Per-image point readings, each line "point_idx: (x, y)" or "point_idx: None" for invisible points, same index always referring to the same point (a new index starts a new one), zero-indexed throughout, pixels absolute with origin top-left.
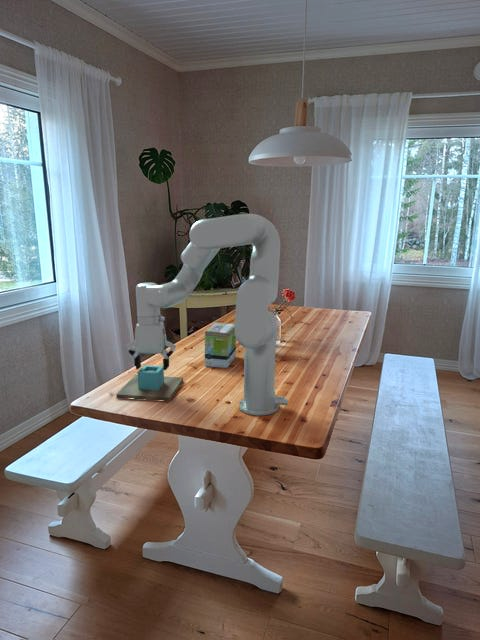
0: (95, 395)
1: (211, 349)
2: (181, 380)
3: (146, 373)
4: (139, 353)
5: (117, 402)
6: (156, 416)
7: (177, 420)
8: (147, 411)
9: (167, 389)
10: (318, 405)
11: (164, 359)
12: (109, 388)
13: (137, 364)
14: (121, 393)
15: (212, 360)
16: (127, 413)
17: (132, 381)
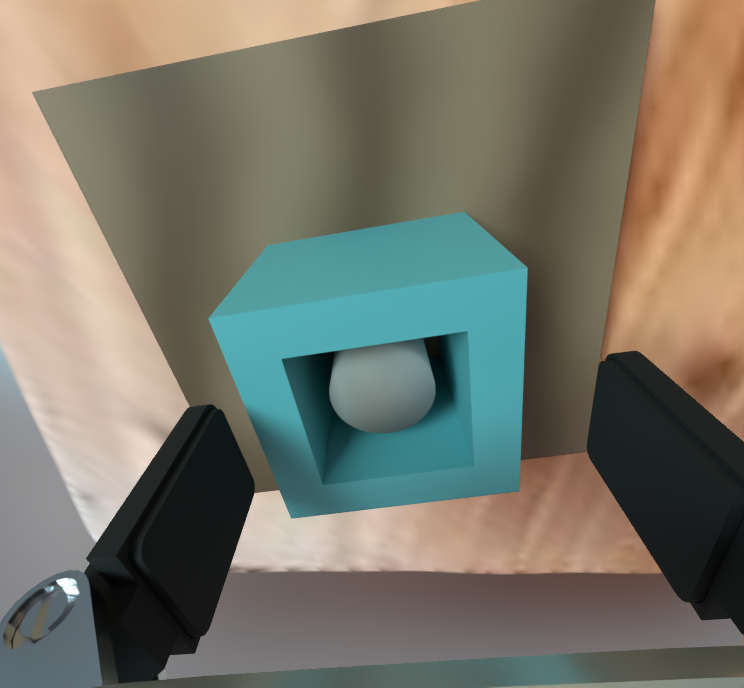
0: (97, 472)
1: None
2: (639, 64)
3: (390, 499)
4: (112, 660)
5: (282, 502)
6: (539, 553)
7: (642, 556)
8: (481, 532)
9: (541, 349)
10: None
11: (721, 615)
12: (71, 371)
13: (231, 543)
14: (256, 480)
15: None
16: (399, 562)
17: (165, 287)
